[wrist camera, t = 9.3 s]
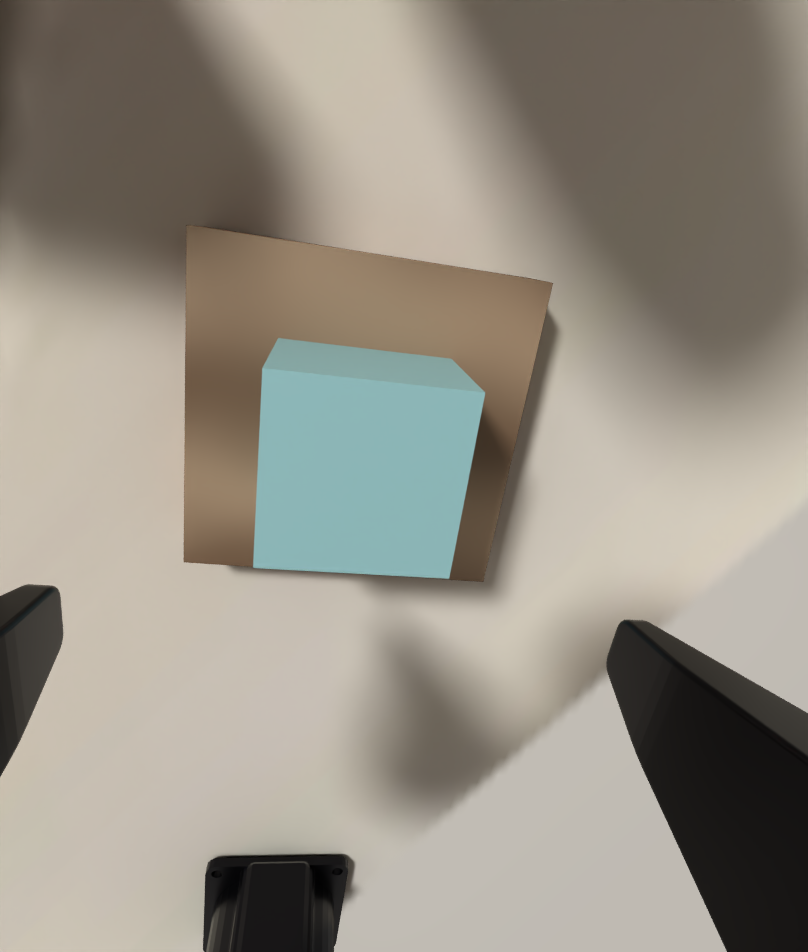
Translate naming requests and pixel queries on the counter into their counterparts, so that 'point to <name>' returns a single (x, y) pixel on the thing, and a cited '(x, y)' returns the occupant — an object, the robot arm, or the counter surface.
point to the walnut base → (346, 324)
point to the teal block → (362, 460)
